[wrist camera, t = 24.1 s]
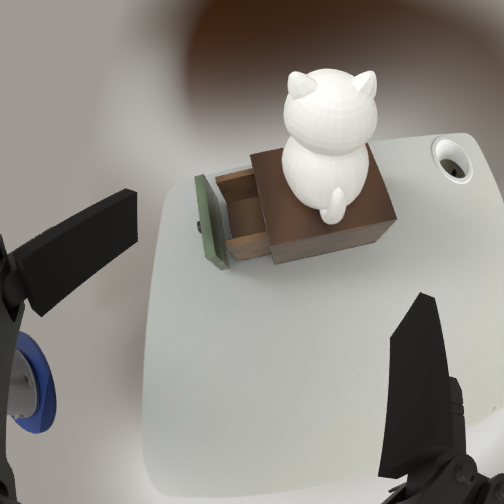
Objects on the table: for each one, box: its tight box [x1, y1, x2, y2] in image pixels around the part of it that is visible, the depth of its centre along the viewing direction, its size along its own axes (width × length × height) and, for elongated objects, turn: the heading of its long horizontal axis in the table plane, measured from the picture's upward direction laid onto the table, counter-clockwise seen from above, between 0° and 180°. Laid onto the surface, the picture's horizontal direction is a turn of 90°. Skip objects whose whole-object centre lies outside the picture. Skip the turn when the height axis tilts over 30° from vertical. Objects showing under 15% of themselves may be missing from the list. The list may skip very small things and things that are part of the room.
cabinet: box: [250, 143, 397, 265], centre depth 36 cm, size 15×12×10 cm
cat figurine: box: [282, 69, 378, 224], centre depth 24 cm, size 9×12×15 cm
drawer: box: [195, 168, 272, 270], centre depth 37 cm, size 15×10×8 cm
